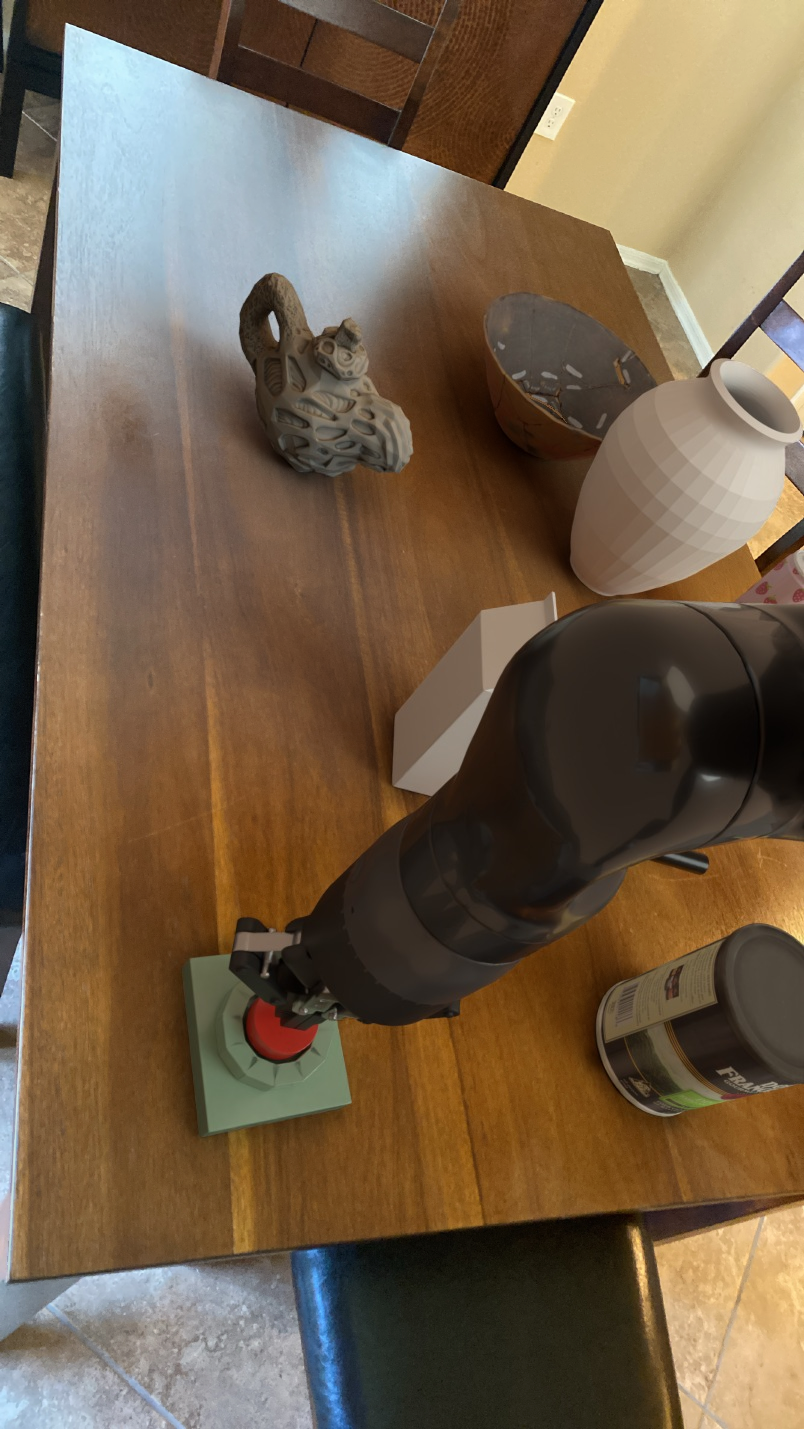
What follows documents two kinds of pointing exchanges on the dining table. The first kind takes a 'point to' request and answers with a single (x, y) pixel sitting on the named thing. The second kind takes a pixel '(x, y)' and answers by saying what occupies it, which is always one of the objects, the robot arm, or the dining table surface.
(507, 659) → the milk carton
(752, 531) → the vase
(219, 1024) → the button block
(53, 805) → the dining table surface
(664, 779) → the robot arm
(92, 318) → the dining table surface
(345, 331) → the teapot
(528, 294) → the bowl
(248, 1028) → the button
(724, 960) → the coffee can
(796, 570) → the beverage can
